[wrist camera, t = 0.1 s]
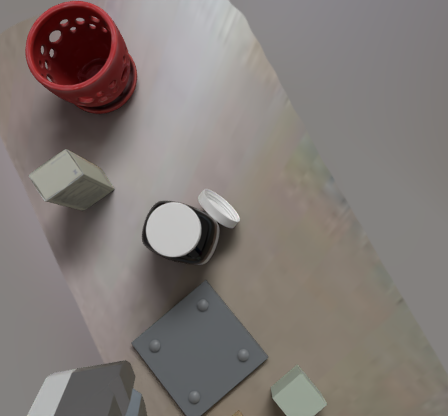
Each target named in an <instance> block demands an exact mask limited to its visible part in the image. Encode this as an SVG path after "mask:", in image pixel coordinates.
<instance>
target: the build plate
mask: <svg viewBox="0 0 448 416" xmlns="http://www.w3.org/2000/svg"><path fill="white" fill-rule="evenodd" d="M132 345H133V346H134V347H135V349H136V350H137V351H138V353H139V354H140V355H141V357H142V358H143V359H144V361H145V362H146V363H147V365H148V366H149V367H150V368H151V370H152V371H153V372H154V374H155V375H156V376H157V378H158V379H159V380H160V382H161V383H162V384H163V386H164V387H165V388H166V390H167V391H168V392H169V394H170V395H171V396H172V397H173V399H174V400H175V401H176V403H177V404H178V405H179V407H180V408H181V409H182V411H183V412H184V413H185V415H186V416H201V415H202V414H203V413H204V412H206V411H207V410H208V409H209V408H210V407H211V406H213V405H214V404H215V403H216V402H217V401H218V400H220V399H221V398H222V397H223V396H224V395H225V394H226V393H228V392H229V391H230V390H231V389H232V388H233V387H235V386H236V385H237V384H238V383H239V382H240V381H242V380H243V379H244V378H245V377H246V376H247V375H249V374H250V373H251V372H252V371H253V370H254V369H255V368H257V367H258V366H259V365H260V364H261V363H262V362H264V361H265V360H266V359H267V358H268V355H267V354H266V353H265V352H264V350H263V349H262V348H261V347H260V346H259V344H258V343H257V342H256V341H255V339H254V338H253V337H252V336H251V335H250V333H249V332H248V331H247V330H246V328H245V327H244V326H243V325H242V323H241V322H240V321H239V320H238V319H237V317H236V316H235V315H234V314H233V312H232V311H231V310H230V309H229V307H228V306H227V305H226V304H225V303H224V301H223V300H222V299H221V298H220V296H219V295H218V294H217V293H216V291H215V290H214V289H213V288H212V287H211V285H210V284H209V283H208V282H207V280H205V281H204V282H203V283H201V284H200V285H199V286H198V287H197V288H196V289H194V290H193V291H192V292H191V293H190V294H188V295H187V296H186V297H185V298H184V299H183V300H181V301H180V302H179V303H178V304H177V305H175V306H174V307H173V308H172V309H171V310H170V311H168V312H167V313H166V314H165V315H164V316H162V317H161V318H160V319H159V320H158V321H157V322H155V323H154V324H153V325H152V326H151V327H149V328H148V329H147V330H146V331H145V332H144V333H142V334H141V335H140V336H139V337H138V338H136V339H135V340H134V341H133V342H132Z"/></svg>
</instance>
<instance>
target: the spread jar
mask: <svg viewBox="0 0 448 416" xmlns="http://www.w3.org/2000/svg"><path fill="white" fill-rule="evenodd" d="M198 201H199V203H200V204H201V206H202V207H203V209H204V210H205V211H206V212H207V213H208V214H209V215H210V216H209V215H208V214H206V213H204V212H202V211H200V210H198V209H196V208H194V207H192V206H189V205H186V204H183V203H179V202H173V201H159V202H157V203H156V204H155V205H154V206H153V207H152V208H151V210H150V211H149V213H148V215H147V217H146V220H145V222H144V226H143V231H142V242H143V244H144V245H145V246H146V247H147V248H148V249H149V250H151V251H153V252H154V253H156V254H158V255H160V256H162V257H164V258H167V259H170V260H173V261H176V262H180V263H186V264H192V265H202V264H205V263H207V262H208V261H209V260H210V258H211V257H212V255H213V253H214V251H215V249H216V246H217V243H218V239H219V232H220V228H219V225H218V223H217V222H219V223H220V224H222V225H223V226H225V227H228V228H234V227H235V226H236V225H237V223H238V222H239V221H240V217H239V215H238V213H237V212H236V211H235V209H234V208H233V207H232V206H231V205H230V204H229V203H228V202H227V201H226V200H225V199H223V198H222V197H221V196H220V195H218V194H217V193H215V192H213V191H211V190H209V189H204V190H203V191H202V193H201V194H200V195H199V196H198ZM215 220H216V221H217V222H216V221H215Z"/></svg>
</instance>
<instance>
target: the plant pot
mask: <svg viewBox="0 0 448 416" xmlns="http://www.w3.org/2000/svg"><path fill="white" fill-rule="evenodd" d="M92 16H93V17H92ZM94 17H96V18H97V19H96V18H94ZM76 18H83V19H84V20H85V21H81V22H80V21H77V20H76ZM64 19H67V20H68V22H67V23H65V24H60V22H61V21H62V20H64ZM90 24H93V25H95V26H96V27H94V26H91V25H90ZM72 27H76V29H75V30H70V28H72ZM104 28H105V29H104ZM56 30H59V31H61V36H60V38H59V39H58V40H57V41H56V42H50V40H49V36H50V34H51V33H52V32H53V31H56ZM41 46H43V47H44V53H43V55H42V53H41ZM50 49H53V50H54V55H53V57H52V58H51V57H50V54H49V52H50ZM26 60H27V64H28V67H29V69H30V71H31V73H32V74H33V76H34V77H35V78H36V79H37V80H38V81H39V82H40V83H41V84H42V85H43V86H44V87H45V88H47V89H48V90H49V91H51V92H52V93H54V94H55V95H57V96H58V97H60V98H62V99H64V100H66V101H68V102H70V103H73V104H75V105H76V106H77V107H79V108H80V109H82V110H84V111H87V112H90V113H95V114H103V113H108V112H111V111H114V110H116V109H118V108H120V107H121V106H122V105H123V104H125V103H126V102H127V100H128V99H129V98H130V97H131V95H132V94H133V92H134V89H135V87H136V82H137V70H136V66H135V63H134V61H133V59H132V57H131V56H130V55H129V53H128V50H127V47H126V44H125V41H124V39H123V37H122V35H121V34H120V32H119V30H118V28H117V26H116V25H115V23H114V21H113V20H112V19H111V17H110V16H109V15H108V14H107V13H106V12H105V11H104V10H103V9H101V8H100V7H98V6H96V5H94V4H91V3H88V2H83V1H70V2H65V3H61V4H58V5H56V6H53V7H52V8H50V9H48V10H47V11H46V12H44V13H43V14H42V15H41V16H40V17H39V18H38V19H37V20H36V22H35V23H34V24H33V26H32V28H31V30H30V32H29V34H28V37H27V42H26ZM45 62H46V63H47V66H48V70H47V69H46V67H45ZM47 76H48V77H49V78H50V79H51V81H52V82H53V83H52V82H50V81H49V80H48V79H47Z"/></svg>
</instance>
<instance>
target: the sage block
mask: <svg viewBox="0 0 448 416" xmlns="http://www.w3.org/2000/svg"><path fill="white" fill-rule="evenodd" d="M271 392H272V398H273V399H274V401H275V402H276V403H277V404H278V406H279V407H280V408H281V409H282V411H283V412H284V413H285V414H286V416H314V415H316V414H317V413H318V412H319V411H320V410H321V409H322V408H324V407H325V406H326V405H327V403H326V401H325V399H324V397H323V396H322V394H321V392H320V391H319V390H318V389H317V387H316V386H315V385H314V384H313V383H312V381H311V380H310V379H309V378H308V376H307V375H306V374H305V373H304V372H303V370H302V369H301V368H300V367H299V366H298V364H297V365H296V366H295V367H294V368H292V369H291V370H290V371H289V372H288V373H287V374H285V375H284V376H283V377H282V378H281V379H280V380H279V381H277V382H276V383H275V384H274V385H273V386H272V387H271Z"/></svg>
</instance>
